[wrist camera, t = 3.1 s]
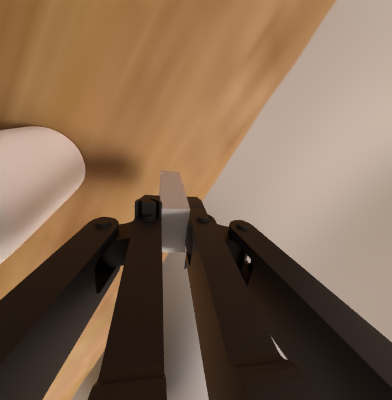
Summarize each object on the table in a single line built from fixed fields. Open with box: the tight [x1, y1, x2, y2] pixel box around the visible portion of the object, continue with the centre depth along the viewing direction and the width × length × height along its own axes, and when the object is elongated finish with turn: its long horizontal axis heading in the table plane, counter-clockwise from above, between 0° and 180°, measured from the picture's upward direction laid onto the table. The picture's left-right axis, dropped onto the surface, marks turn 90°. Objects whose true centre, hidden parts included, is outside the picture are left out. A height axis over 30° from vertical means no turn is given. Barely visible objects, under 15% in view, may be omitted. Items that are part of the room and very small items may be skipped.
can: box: [0, 126, 85, 264], centre depth 13 cm, size 6×6×12 cm
